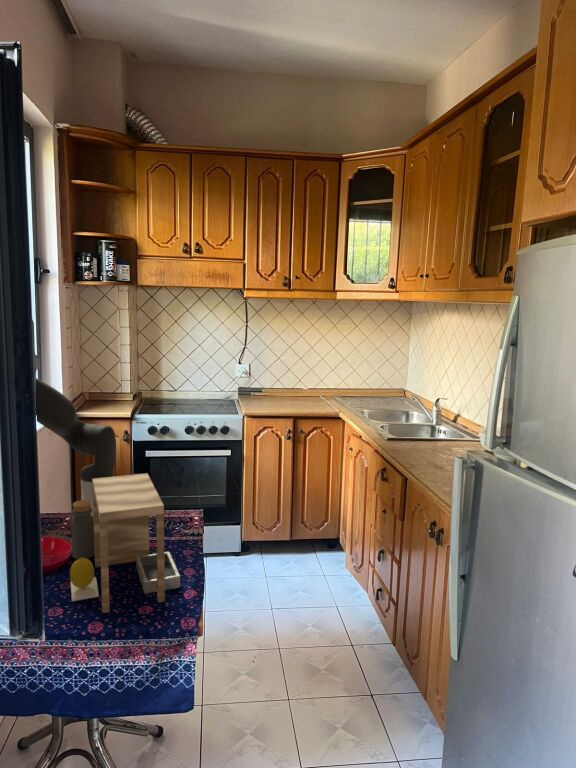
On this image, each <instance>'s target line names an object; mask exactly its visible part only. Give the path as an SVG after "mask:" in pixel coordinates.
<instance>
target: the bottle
mask: <svg viewBox="0 0 576 768" xmlns="http://www.w3.org/2000/svg"><path fill="white" fill-rule="evenodd" d="M90 506H91V502H90V501H87V500H77V501H75V502H73V503H72V508H73V509H72V510H71V513H72V518H71V520H70V524H71V525H70V527H71V529H70V530H71V551H72V552H71V553H72V554H71V555H72V557H73V559H75V560H78V559H80V558H86V559H90V558H92V557H93V556H95V546H94V517H93V516H92V515H90V514H91V513H92V508H91V507H90Z"/></svg>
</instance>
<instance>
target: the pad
mask: <svg viewBox="0 0 576 768" xmlns="http://www.w3.org/2000/svg"><path fill="white" fill-rule="evenodd" d="M70 593H71V602H76V601H83V600H87V599H93V598H98V597H100V596H99V589H98V581H97V577H96V576H94V578H93V580H92V582H91V583H90V584H89V585H88V586H86V587H85V588H84V589H81V588H78V587H76V586H74V585H73V584H72V582H71V581H70Z"/></svg>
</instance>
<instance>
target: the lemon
mask: <svg viewBox="0 0 576 768" xmlns="http://www.w3.org/2000/svg"><path fill="white" fill-rule="evenodd" d="M94 567H95V566H94V565H93V563H92V561H91V560H90V559H89V558H87V559H86V558H80V559H75V561H74V562H73V563H72V565H71V567H70V570H69V578H70V583H71V582H72V584H73V585H74V586H76V587H78V588H81V589H84V588H85V587H86V586H88V585H89V584H90V583H91V582H92V580H93V578H94V577H95V568H94Z"/></svg>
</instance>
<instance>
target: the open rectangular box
mask: <svg viewBox="0 0 576 768" xmlns="http://www.w3.org/2000/svg"><path fill="white" fill-rule="evenodd" d="M175 563H176V562H175V561H174V559H173V557H172V554H171V553H170V551H164V576H165V591H168V590H172V589H177V588H181V575H180V573H179V570H178V568H177V565H176V564H175ZM135 564H136V565H135V566H136V571H137V574H138V576H139V577H138V578H139V580H140V584H141V586H142V590H143V593H144V595H145V594H146V595H147V594H150V593H151V594H152V593H157V552H156V553H152V554H151V553H149V555H143V556H137V557H136V561H135Z"/></svg>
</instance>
